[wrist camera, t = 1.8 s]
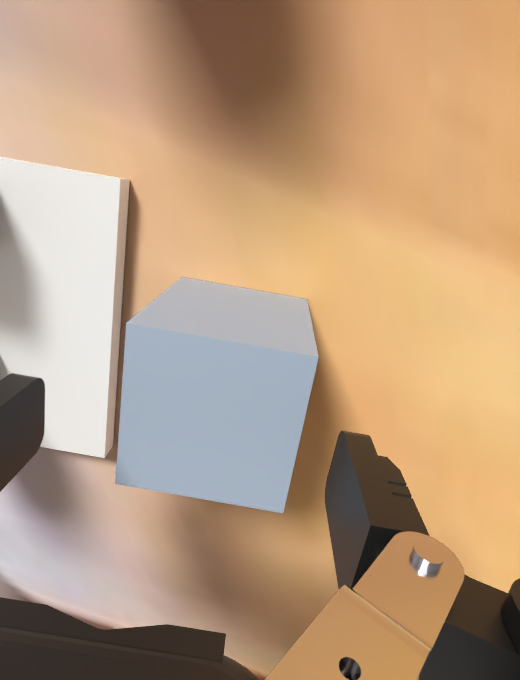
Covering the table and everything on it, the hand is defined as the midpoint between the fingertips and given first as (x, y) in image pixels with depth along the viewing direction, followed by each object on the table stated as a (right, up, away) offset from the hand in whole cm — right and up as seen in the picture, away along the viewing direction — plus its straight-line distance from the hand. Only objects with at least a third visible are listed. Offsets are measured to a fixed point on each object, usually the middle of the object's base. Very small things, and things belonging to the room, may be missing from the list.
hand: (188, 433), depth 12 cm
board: (-10, +4, +7) cm, 13 cm away
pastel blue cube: (+1, +2, +7) cm, 7 cm away
